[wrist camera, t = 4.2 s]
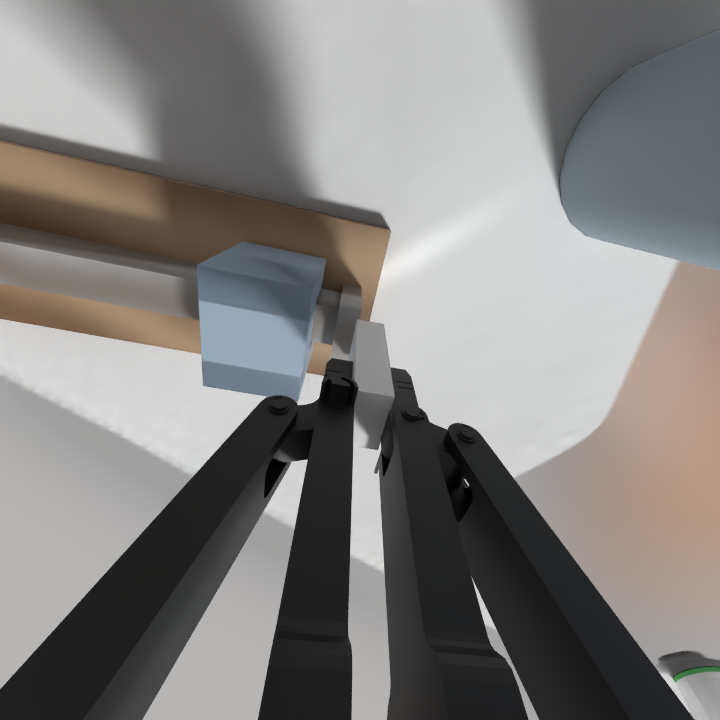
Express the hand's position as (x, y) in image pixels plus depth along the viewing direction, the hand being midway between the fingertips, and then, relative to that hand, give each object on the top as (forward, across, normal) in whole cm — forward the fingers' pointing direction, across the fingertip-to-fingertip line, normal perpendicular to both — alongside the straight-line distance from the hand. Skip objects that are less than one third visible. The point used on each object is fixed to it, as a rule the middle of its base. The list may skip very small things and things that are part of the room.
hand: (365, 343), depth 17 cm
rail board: (+5, -14, 0) cm, 15 cm away
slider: (+4, -6, 0) cm, 7 cm away
